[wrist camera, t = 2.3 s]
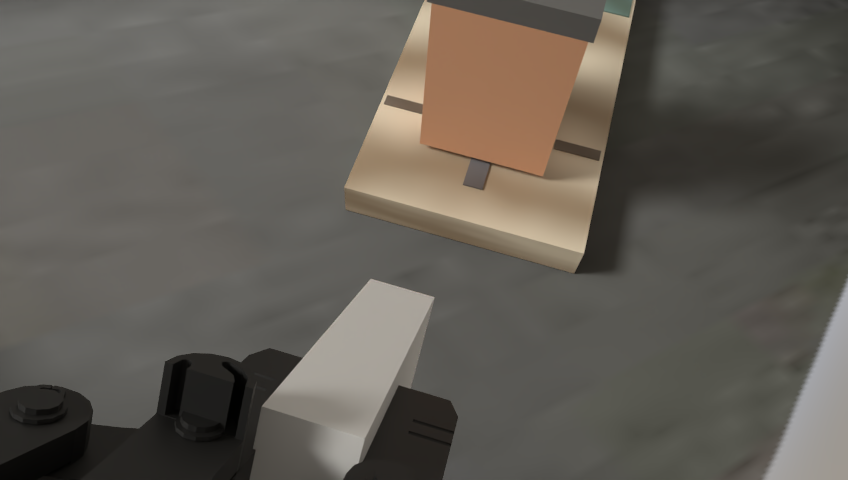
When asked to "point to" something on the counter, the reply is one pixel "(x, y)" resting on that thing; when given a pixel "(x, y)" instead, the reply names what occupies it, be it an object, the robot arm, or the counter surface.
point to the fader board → (488, 182)
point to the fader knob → (503, 76)
